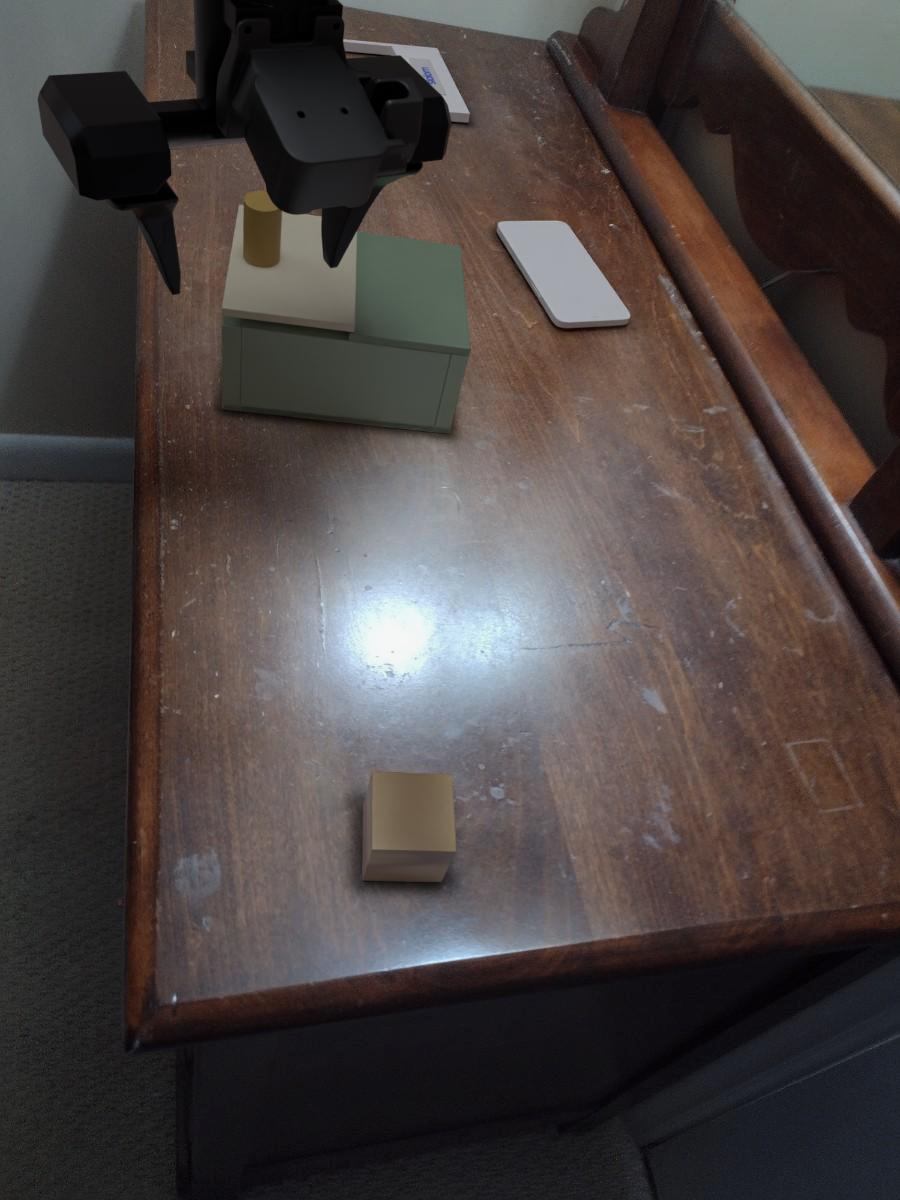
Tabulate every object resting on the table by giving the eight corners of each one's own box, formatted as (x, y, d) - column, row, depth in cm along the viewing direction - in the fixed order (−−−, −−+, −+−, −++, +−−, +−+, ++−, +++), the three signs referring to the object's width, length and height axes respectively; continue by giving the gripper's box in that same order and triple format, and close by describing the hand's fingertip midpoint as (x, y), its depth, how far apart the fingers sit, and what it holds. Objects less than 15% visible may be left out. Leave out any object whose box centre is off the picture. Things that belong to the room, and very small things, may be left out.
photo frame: (470, 111, 95) (295, 98, 90) (468, 122, 96) (294, 110, 90) (437, 46, 103) (275, 30, 98) (435, 56, 104) (274, 41, 99)
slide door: (221, 315, 58) (221, 250, 54) (238, 211, 65) (239, 147, 61) (354, 332, 59) (362, 269, 55) (356, 229, 66) (363, 167, 63)
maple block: (361, 881, 45) (371, 849, 42) (362, 805, 48) (372, 770, 45) (441, 882, 46) (457, 851, 43) (438, 808, 49) (452, 774, 45)
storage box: (222, 409, 64) (221, 317, 58) (238, 304, 71) (238, 213, 65) (449, 434, 66) (470, 348, 60) (442, 331, 74) (461, 245, 68)
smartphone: (565, 220, 86) (634, 318, 78) (563, 227, 87) (631, 326, 79) (494, 221, 84) (558, 322, 76) (492, 228, 84) (555, 330, 76)
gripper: (103, 51, 31) (138, 408, 43) (548, 30, 39) (472, 334, 51) (5, -85, 36) (61, 270, 48) (418, -78, 44) (377, 223, 56)
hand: (254, 276), depth 50 cm, fingers open, 9 cm apart
